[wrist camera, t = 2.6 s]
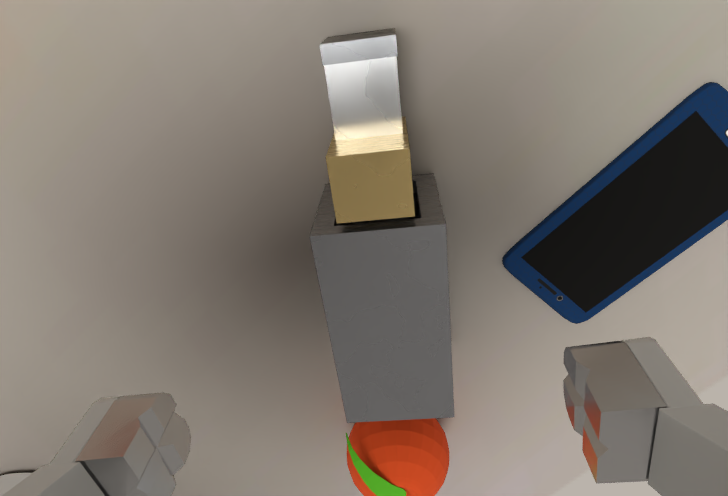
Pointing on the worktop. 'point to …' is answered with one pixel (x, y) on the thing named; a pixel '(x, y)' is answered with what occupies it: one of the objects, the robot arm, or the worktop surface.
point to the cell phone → (632, 212)
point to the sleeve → (388, 309)
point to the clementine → (398, 457)
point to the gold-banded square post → (367, 129)
